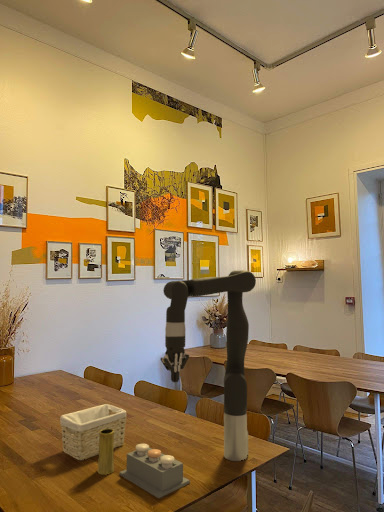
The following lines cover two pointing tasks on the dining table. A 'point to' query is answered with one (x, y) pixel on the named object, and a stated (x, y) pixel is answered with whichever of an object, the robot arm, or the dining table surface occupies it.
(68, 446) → the storage basket
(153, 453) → the knob mid
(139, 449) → the knob far
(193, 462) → the dining table surface
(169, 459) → the knob near
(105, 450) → the vase
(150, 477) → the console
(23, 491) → the dining table surface
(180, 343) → the robot arm
